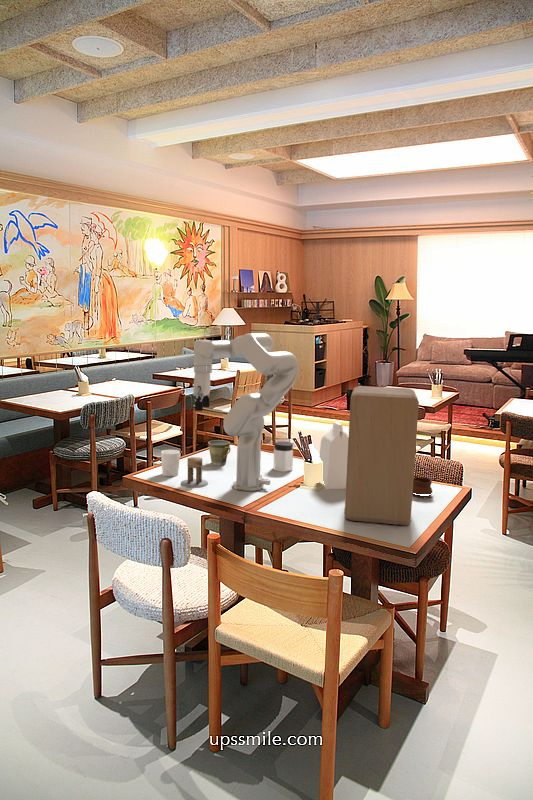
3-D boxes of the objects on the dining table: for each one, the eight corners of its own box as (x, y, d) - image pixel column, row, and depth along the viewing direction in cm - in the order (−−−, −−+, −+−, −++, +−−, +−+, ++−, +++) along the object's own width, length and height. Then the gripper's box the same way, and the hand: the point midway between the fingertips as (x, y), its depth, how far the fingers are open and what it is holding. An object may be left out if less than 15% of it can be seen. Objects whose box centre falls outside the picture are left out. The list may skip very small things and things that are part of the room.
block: (410, 528, 209) (419, 396, 202) (343, 522, 213) (350, 393, 206) (407, 507, 231) (415, 388, 224) (347, 502, 235) (353, 384, 228)
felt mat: (211, 481, 257) (211, 480, 257) (203, 488, 246) (203, 487, 246) (185, 478, 259) (185, 477, 259) (177, 486, 248) (177, 485, 248)
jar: (272, 466, 282) (272, 441, 280) (289, 466, 284) (290, 441, 282) (275, 472, 274) (276, 445, 272) (293, 471, 275) (294, 445, 273)
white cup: (181, 472, 268) (181, 450, 267) (177, 477, 261) (177, 454, 259) (163, 471, 269) (163, 449, 268) (158, 476, 261) (159, 453, 260)
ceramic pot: (428, 505, 234) (429, 487, 233) (389, 494, 247) (390, 477, 246) (452, 497, 247) (453, 480, 246) (413, 487, 259) (414, 471, 258)
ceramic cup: (203, 462, 286) (203, 441, 284) (220, 459, 292) (220, 439, 291) (221, 468, 276) (221, 447, 275) (238, 465, 283) (238, 444, 281)
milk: (317, 481, 262) (319, 420, 258) (342, 479, 265) (345, 420, 261) (326, 489, 250) (329, 426, 246) (353, 488, 253) (356, 425, 249)
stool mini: (189, 480, 256) (190, 456, 254) (203, 481, 255) (204, 457, 253) (185, 484, 250) (185, 460, 249) (199, 485, 249) (199, 461, 247)
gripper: (200, 366, 271) (200, 405, 273) (187, 370, 254) (187, 411, 256) (217, 367, 269) (216, 406, 272) (205, 371, 252) (204, 412, 255)
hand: (202, 408), depth 264 cm, fingers open, 9 cm apart
